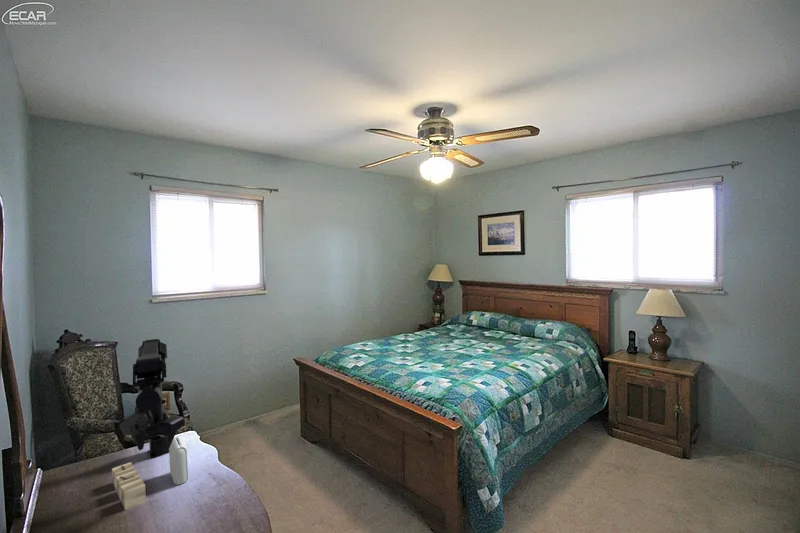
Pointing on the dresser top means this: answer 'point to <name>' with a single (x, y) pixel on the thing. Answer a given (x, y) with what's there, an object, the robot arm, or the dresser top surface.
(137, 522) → the dresser top surface
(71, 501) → the dresser top surface
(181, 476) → the white rounded slab
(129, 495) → the plain block
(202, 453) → the dresser top surface
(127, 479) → the block seven
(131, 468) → the block one
